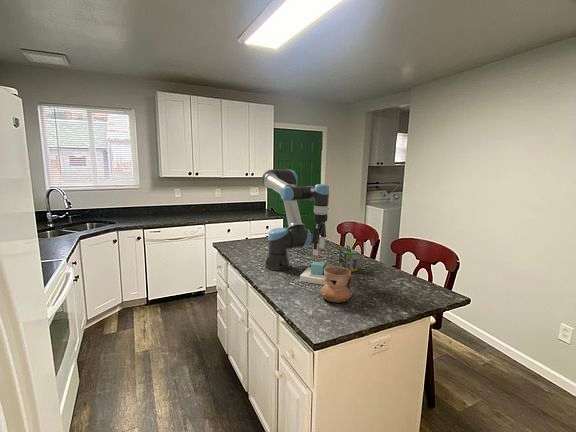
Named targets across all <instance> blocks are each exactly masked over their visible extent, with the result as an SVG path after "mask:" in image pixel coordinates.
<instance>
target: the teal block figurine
mask: <svg viewBox="0 0 576 432" xmlns="http://www.w3.org/2000/svg"><path fill="white" fill-rule="evenodd" d="M310 267H311V274H313V275H323V274H324V269H325V268H326V263H325V262H320V261H313V262H312V263H311V264H310Z"/></svg>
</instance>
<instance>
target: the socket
mask: <svg viewBox="0 0 576 432" xmlns="http://www.w3.org/2000/svg"><path fill="white" fill-rule="evenodd" d="M323 278H325V276H324V274H323V275H313V274H311V266H308V267H307V268H306V269H305V270H304V271H303V272H302V273H301V274H300V275H299V282H304V283H310V284H314V285H321V286H324V285H326V284H327V282H326V281H325V282H322V281H321V279H323Z"/></svg>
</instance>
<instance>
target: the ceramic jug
mask: <svg viewBox="0 0 576 432" xmlns="http://www.w3.org/2000/svg"><path fill="white" fill-rule="evenodd" d="M324 275H325V278H323V279H321V281H322V282H325V281H326V282H327V284H326V285H322V287H321V288H320V291H319V292H320V295H321V297H322V298H323V299H324V300H326V301H328V302H331V303H337V304H338V303H340V304H341V303H344V302H348V301H350V299H351V298H352V291H351V290H350V287H351V285H352V282H353V276H352V272H351V271H350V270H349V269H347V268H344V267H339V265H332V266H331V265H330V266H329V267H326V266H325V269H324Z"/></svg>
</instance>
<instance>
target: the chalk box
mask: <svg viewBox="0 0 576 432" xmlns="http://www.w3.org/2000/svg"><path fill="white" fill-rule="evenodd" d="M338 254H339V258H338V260H339V261H338V266H339V267H344V268H347V269H349V270H350V271H351V273H353V272H359V271H360V252H359V251H357V250H355V249H352V248H351V246H349V245H346V249H339V253H338Z"/></svg>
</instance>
